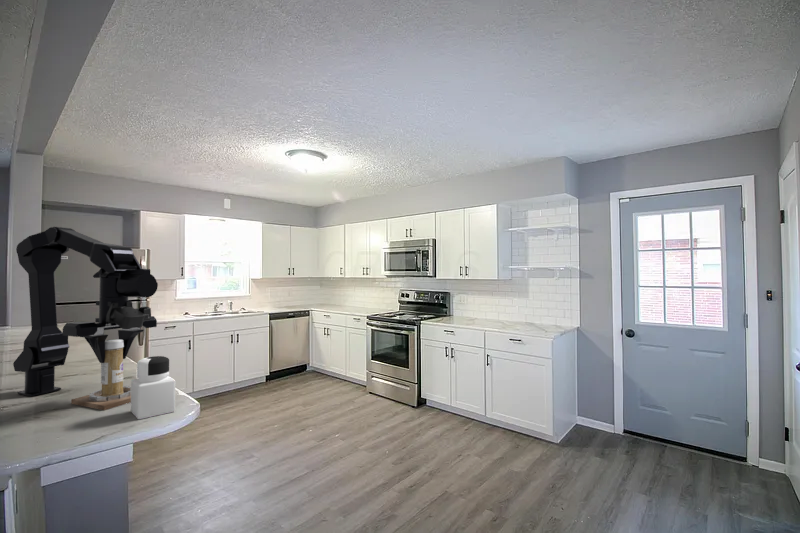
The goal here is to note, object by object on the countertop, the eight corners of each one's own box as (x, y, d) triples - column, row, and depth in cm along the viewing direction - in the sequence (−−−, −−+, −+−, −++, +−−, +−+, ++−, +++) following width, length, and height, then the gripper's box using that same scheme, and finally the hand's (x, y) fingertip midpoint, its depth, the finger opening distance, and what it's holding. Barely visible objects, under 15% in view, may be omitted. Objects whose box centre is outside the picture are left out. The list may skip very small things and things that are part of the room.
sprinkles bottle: (123, 396, 96) (123, 340, 96) (99, 399, 93) (100, 342, 93) (123, 391, 99) (123, 338, 100) (101, 395, 97) (101, 339, 97)
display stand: (71, 403, 93) (71, 395, 93) (119, 391, 103) (119, 383, 104) (104, 410, 89) (104, 401, 89) (151, 396, 99) (151, 388, 99)
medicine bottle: (166, 404, 93) (167, 353, 93) (175, 411, 88) (176, 357, 88) (130, 411, 88) (131, 357, 88) (137, 420, 83) (138, 362, 83)
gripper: (93, 299, 85) (91, 372, 85) (172, 295, 102) (171, 356, 102) (61, 298, 89) (60, 368, 89) (142, 294, 106) (141, 352, 106)
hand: (112, 360), depth 96 cm, fingers open, 5 cm apart
